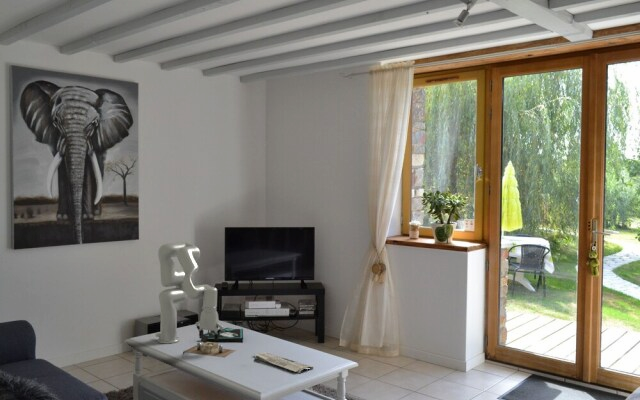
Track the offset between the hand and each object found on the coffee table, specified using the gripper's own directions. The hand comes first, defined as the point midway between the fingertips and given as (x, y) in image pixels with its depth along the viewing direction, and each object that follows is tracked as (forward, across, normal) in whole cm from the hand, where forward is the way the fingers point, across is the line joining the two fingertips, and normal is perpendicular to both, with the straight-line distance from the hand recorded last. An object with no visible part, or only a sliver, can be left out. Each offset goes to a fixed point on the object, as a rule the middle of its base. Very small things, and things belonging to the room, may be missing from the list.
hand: (208, 339), depth 328 cm
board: (+8, +1, 0) cm, 8 cm away
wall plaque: (+10, -5, +29) cm, 31 cm away
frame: (+7, +1, 0) cm, 7 cm away
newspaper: (+7, +46, -2) cm, 47 cm away
